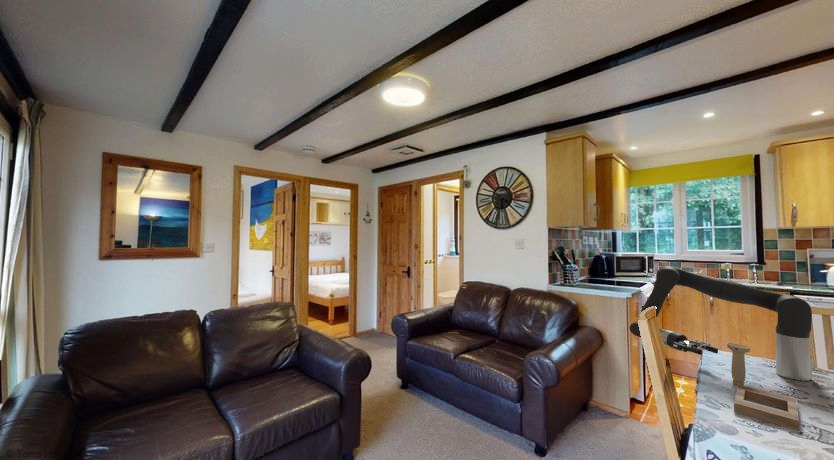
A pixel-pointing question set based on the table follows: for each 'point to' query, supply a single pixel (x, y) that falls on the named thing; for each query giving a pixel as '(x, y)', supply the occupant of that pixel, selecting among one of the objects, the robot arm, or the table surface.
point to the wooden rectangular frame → (765, 412)
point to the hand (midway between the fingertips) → (709, 351)
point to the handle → (738, 362)
